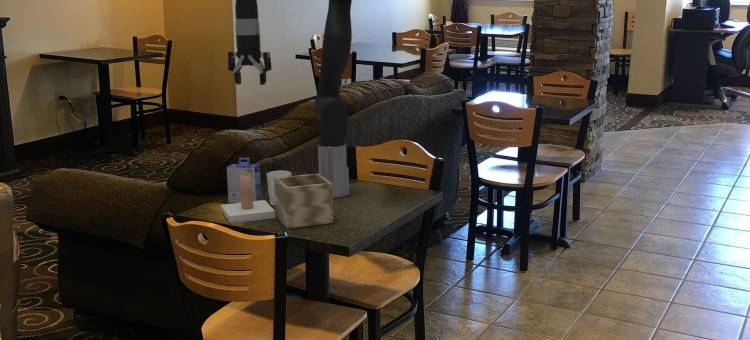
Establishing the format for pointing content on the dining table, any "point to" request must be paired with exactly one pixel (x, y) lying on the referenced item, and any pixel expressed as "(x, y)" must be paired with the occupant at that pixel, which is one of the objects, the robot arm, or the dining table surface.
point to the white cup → (271, 183)
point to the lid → (247, 203)
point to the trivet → (250, 218)
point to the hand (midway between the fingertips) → (250, 84)
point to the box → (303, 200)
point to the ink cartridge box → (234, 180)
